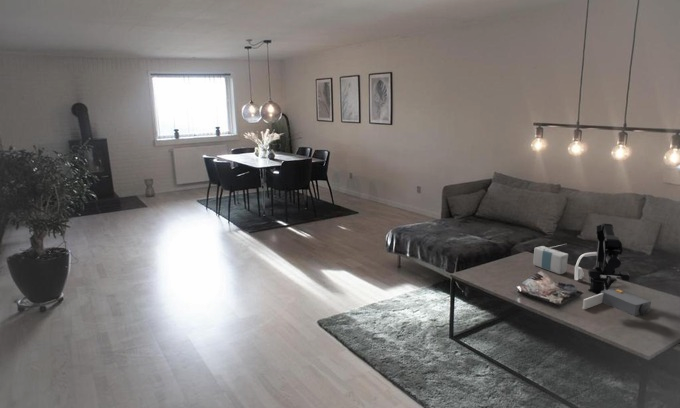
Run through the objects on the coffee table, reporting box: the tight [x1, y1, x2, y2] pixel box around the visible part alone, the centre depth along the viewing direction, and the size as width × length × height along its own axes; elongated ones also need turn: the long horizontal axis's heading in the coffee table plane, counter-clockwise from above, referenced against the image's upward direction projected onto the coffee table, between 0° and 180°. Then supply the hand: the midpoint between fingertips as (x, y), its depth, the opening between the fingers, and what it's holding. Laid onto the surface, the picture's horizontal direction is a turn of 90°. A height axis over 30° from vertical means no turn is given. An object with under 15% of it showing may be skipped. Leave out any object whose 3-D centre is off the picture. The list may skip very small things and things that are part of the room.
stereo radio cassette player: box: [532, 243, 569, 275], centre depth 304 cm, size 21×8×20 cm, turn 28°
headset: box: [573, 251, 597, 281], centre depth 287 cm, size 20×7×18 cm, turn 101°
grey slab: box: [601, 287, 652, 317], centre depth 250 cm, size 21×12×7 cm, turn 23°
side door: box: [582, 293, 604, 310], centre depth 252 cm, size 17×2×6 cm, turn 119°
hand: (606, 289), depth 245 cm, fingers closed
